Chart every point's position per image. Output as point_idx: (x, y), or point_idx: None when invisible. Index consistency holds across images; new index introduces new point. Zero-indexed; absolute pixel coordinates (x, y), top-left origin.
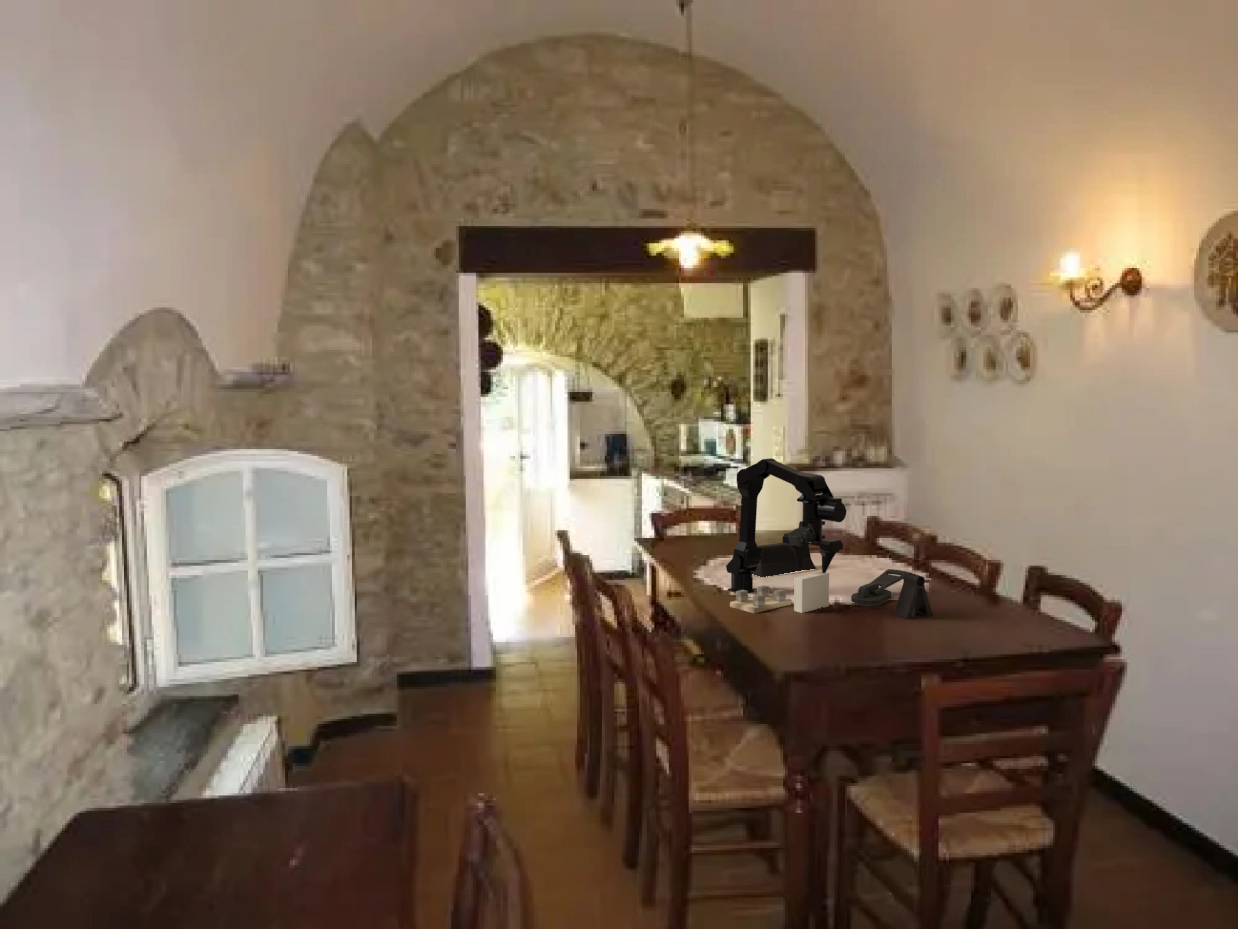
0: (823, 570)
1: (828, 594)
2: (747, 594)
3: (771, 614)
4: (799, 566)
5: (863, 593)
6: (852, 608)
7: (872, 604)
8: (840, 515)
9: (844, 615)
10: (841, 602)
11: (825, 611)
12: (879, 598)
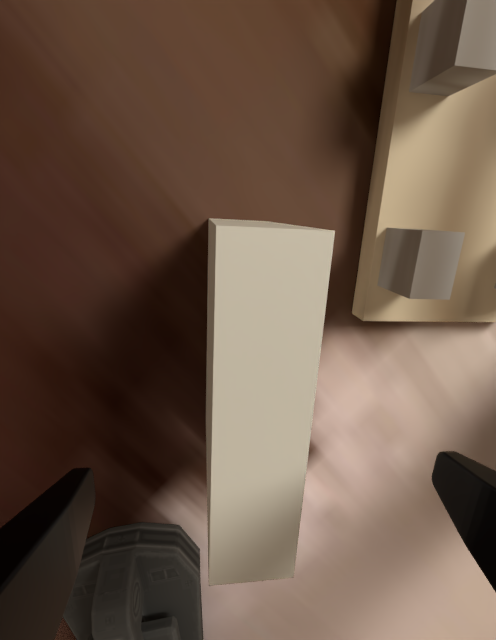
0: (49, 488)
1: (206, 456)
2: None
3: (309, 45)
4: (448, 465)
5: (96, 588)
6: (103, 466)
7: None
8: None
9: (23, 346)
10: None
11: (146, 335)
12: None
